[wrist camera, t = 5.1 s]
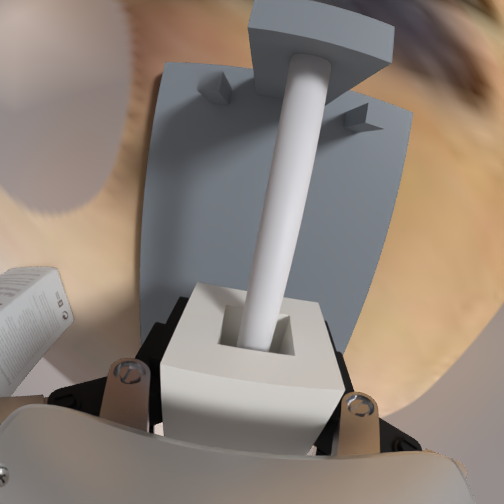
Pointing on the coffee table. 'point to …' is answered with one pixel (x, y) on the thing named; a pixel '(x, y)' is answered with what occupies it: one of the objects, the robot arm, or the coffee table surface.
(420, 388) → the coffee table surface
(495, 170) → the coffee table surface
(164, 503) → the robot arm
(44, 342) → the skincare box
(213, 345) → the sleeve
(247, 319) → the slide rail
